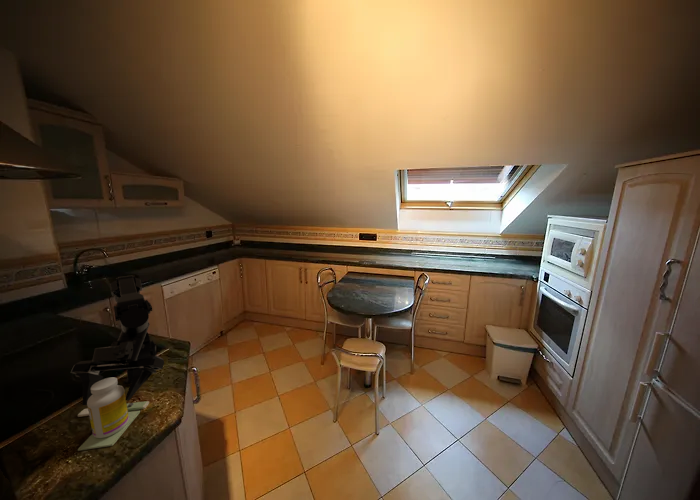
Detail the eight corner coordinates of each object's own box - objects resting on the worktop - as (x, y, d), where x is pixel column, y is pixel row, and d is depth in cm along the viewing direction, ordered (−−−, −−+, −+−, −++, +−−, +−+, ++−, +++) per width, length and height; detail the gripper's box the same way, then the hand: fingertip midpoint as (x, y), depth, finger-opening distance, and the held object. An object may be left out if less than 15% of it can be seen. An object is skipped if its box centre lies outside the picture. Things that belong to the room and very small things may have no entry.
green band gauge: (84, 410, 67) (83, 407, 67) (149, 403, 70) (148, 399, 70) (33, 457, 54) (32, 452, 54) (115, 445, 57) (114, 441, 57)
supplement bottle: (135, 416, 65) (129, 374, 63) (113, 439, 58) (105, 393, 56) (110, 417, 65) (103, 374, 63) (84, 440, 58) (75, 393, 56)
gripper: (70, 333, 61) (31, 405, 52) (153, 328, 64) (129, 395, 55) (101, 344, 70) (71, 408, 61) (172, 339, 73) (154, 399, 64)
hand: (106, 402), depth 60 cm, fingers open, 9 cm apart
